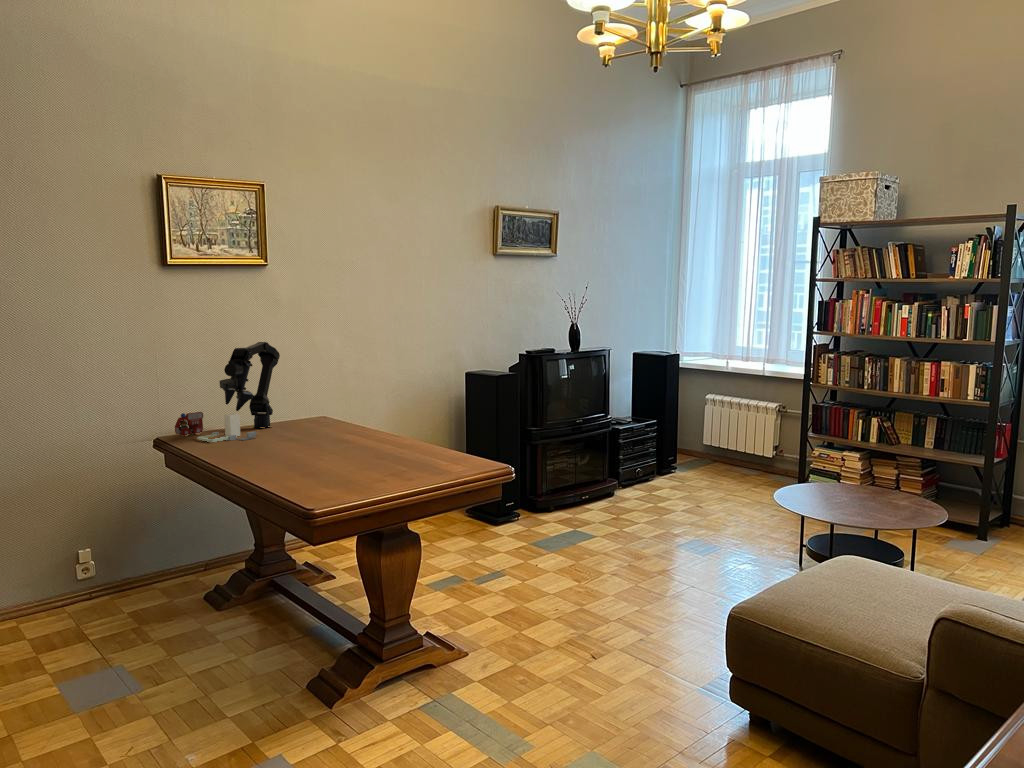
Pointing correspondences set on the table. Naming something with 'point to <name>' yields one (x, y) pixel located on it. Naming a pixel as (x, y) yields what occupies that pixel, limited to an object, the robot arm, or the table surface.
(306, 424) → the table surface
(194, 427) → the toy fire truck
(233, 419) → the ivory block
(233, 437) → the channel
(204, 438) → the sage bay
